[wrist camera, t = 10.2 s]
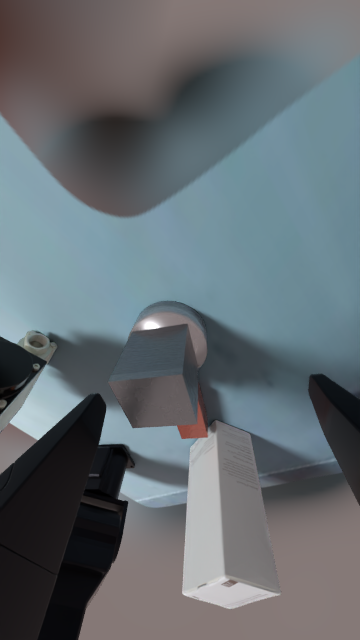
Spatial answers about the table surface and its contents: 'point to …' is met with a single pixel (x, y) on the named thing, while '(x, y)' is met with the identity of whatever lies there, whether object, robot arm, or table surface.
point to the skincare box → (226, 523)
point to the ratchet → (183, 314)
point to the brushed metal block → (158, 378)
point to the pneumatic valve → (21, 371)
